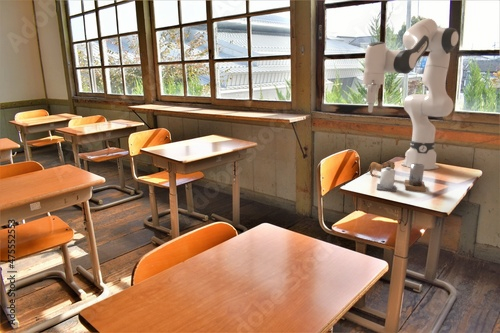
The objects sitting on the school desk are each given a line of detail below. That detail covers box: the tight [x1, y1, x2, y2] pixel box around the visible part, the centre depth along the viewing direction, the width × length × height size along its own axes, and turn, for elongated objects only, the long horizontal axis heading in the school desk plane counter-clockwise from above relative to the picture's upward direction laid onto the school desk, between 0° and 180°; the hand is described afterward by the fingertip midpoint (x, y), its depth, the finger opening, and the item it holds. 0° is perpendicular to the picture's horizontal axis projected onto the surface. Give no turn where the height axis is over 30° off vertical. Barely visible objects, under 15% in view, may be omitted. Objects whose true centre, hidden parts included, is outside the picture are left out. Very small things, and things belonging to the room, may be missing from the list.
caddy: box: [404, 179, 427, 193], centre depth 172 cm, size 10×8×4 cm
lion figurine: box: [364, 160, 396, 177], centre depth 189 cm, size 15×5×9 cm, turn 49°
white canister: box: [379, 167, 396, 189], centre depth 170 cm, size 6×6×9 cm
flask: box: [408, 164, 425, 186], centre depth 169 cm, size 5×5×9 cm
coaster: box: [376, 183, 397, 193], centre depth 171 cm, size 8×8×1 cm
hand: (370, 111), depth 173 cm, fingers open, 8 cm apart
